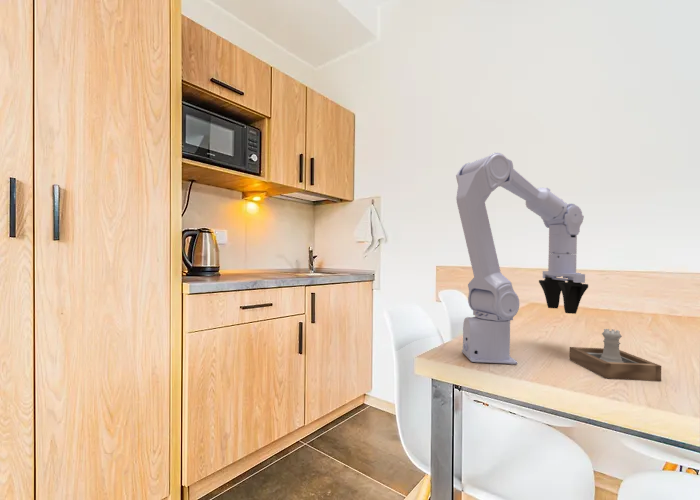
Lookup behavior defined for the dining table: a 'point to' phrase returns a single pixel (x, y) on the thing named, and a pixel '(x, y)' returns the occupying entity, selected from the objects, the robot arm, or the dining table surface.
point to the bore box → (615, 365)
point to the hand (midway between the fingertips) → (561, 310)
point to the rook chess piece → (611, 346)
